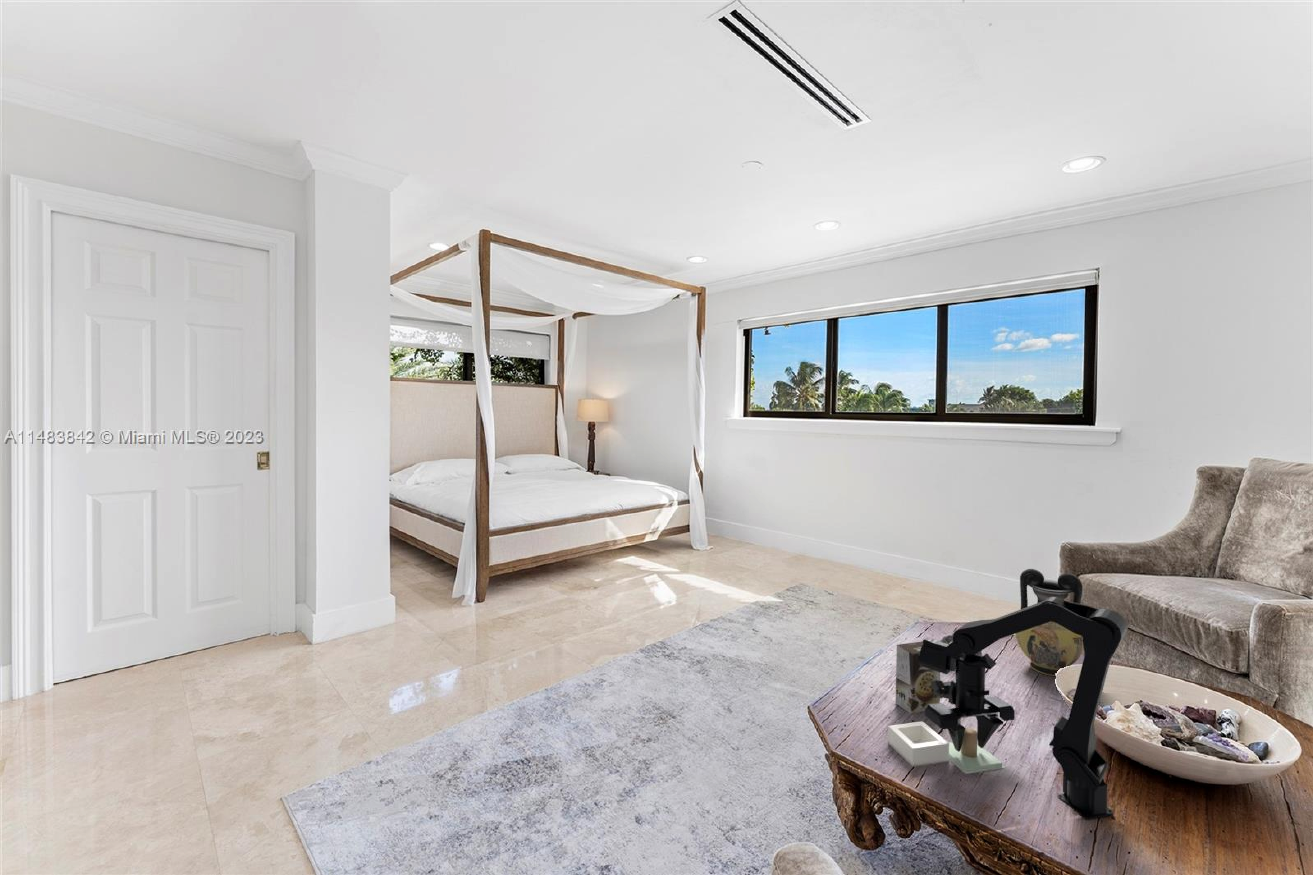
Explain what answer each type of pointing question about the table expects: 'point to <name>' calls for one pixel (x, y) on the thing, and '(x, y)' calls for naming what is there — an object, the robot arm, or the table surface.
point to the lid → (972, 754)
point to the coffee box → (913, 679)
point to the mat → (976, 770)
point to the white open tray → (918, 743)
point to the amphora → (1050, 624)
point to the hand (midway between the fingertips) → (969, 748)
